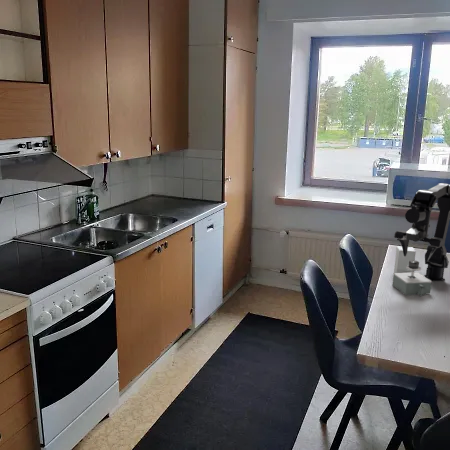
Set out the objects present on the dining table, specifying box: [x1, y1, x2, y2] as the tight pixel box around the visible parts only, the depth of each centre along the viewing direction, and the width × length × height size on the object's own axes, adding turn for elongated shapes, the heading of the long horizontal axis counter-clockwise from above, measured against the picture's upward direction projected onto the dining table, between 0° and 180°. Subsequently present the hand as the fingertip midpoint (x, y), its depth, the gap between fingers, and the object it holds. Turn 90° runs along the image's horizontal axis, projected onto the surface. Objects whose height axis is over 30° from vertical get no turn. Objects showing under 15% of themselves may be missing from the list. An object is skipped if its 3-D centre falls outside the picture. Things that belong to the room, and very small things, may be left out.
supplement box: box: [393, 245, 417, 274], centre depth 216 cm, size 7×7×13 cm
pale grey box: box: [391, 271, 433, 297], centre depth 198 cm, size 11×14×6 cm
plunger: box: [406, 260, 422, 278], centre depth 198 cm, size 8×8×8 cm
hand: (415, 258), depth 194 cm, fingers open, 9 cm apart
